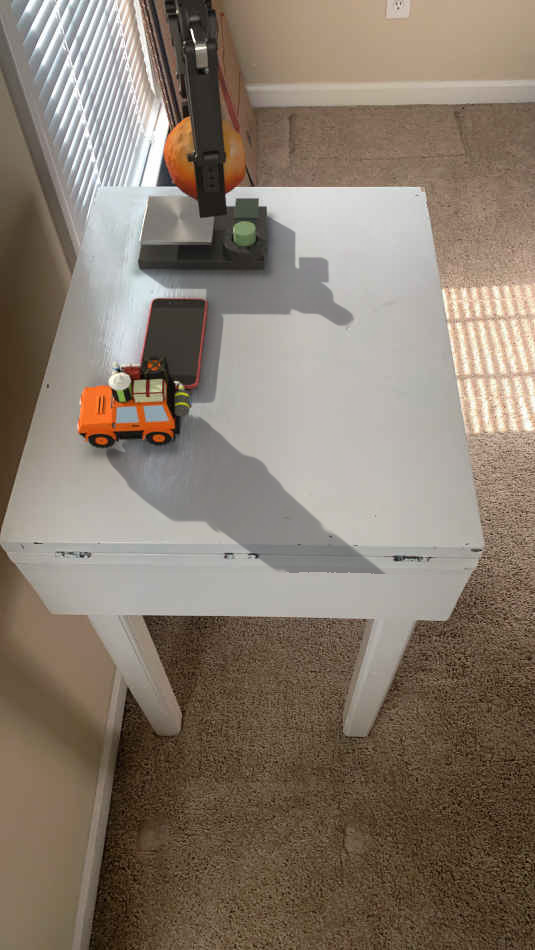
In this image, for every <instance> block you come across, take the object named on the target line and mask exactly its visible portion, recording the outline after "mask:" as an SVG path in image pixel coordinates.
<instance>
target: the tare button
mask: <svg viewBox="0 0 535 950" xmlns="http://www.w3.org/2000/svg"><path fill="white" fill-rule="evenodd" d="M233 235H234V242H235V244H236V245H238V246H246V247H248V246H251V245H253V244H254V243H255V242H256V227H255V225H254V224H253V223H251V222H247V221H242V222H239V223H237V224H235V225H234V227H233Z"/></svg>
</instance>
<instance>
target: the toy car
mask: <svg viewBox="0 0 535 950" xmlns="http://www.w3.org/2000/svg"><path fill="white" fill-rule="evenodd" d="M109 374H110V373H109V372H108V373H107V375H109ZM109 377H110V378H109V380H108V381H107V380H105V382H106V384H107V385H104V384H103V385H97V386H90V387H89V386H88V387H84V388H83V391H82V394H80V399H79V406H80V410H79V411H80V412H79V417H78V418H77V420H78V421H77V425H76V429H77V434H78V435H79V436H81V437H82V438H84V443H87V442H88V443H89V445H91V446H92V447H95V448H97V449H98V448H100V449H108V448H110V447H113V445H115V442H117V443H119V442H120V441H122V440H123V441H125V440H142V441H144V440H146V442H147V443H149V444H150V445H154V446H159V447H160V446H161V447H162V446H166V445H167V444H170V443H171V442H172V440H173V442H174V443H176V436H177V435H180V434H181V417H187V415H189V413H190V409H192V400H193V399H192V397H191V396H190V393H189V392H188V391H187V390H186V389H184V386H183V385H182V383H181V382H177V381H173V379H172V378H171V376H170V374H169V369H168V363H167V362H166V359H165V357H164V356H163V357H161V356H158V355H155V356H150V357H144V358H143V361H142V363H141V364H140V363H137V364H136V363H134V364H133V363H130V364H119V363H118V362H117V361H116V362H115V361H114V362H113V363H112V372H111V376H109ZM175 386H177V387H178V388H179V389H175Z"/></svg>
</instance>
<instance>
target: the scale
mask: <svg viewBox="0 0 535 950" xmlns="http://www.w3.org/2000/svg"><path fill="white" fill-rule="evenodd" d="M226 208H227V215H221V216H215V223H214V232H213V242H212V245H140V246H139V247H140V248H139V252H138V257H137V263H138V264H137V265H138V268H139V270H200V271H201V270H207V271H208V270H209V271H210V270H214V271H215V270H218V271H219V270H225V271H226V270H227V271H230V270H233V271H236V270H237V271H245V270H246V271H249V270H250V271H252V270H253V271H265V269H266V254H268V252H269V235H268V232H267V227H268V226H267V225H268V207H267V206H265V205H264V206H262V205H261V206H260V205H259V206H258V220H235V219H234V215H235V206H234V205H233V206H232V205H231V206H230V205H229V206H228V205H226ZM242 221H247V222H251V223H253V224H254V225H255V227H256V242H255V243H254V244H253V245H251V246H248V247H246V246H238V245H236V244H235V242H234V235H233V227H234V225H235V224H237V223H239V222H242Z"/></svg>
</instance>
